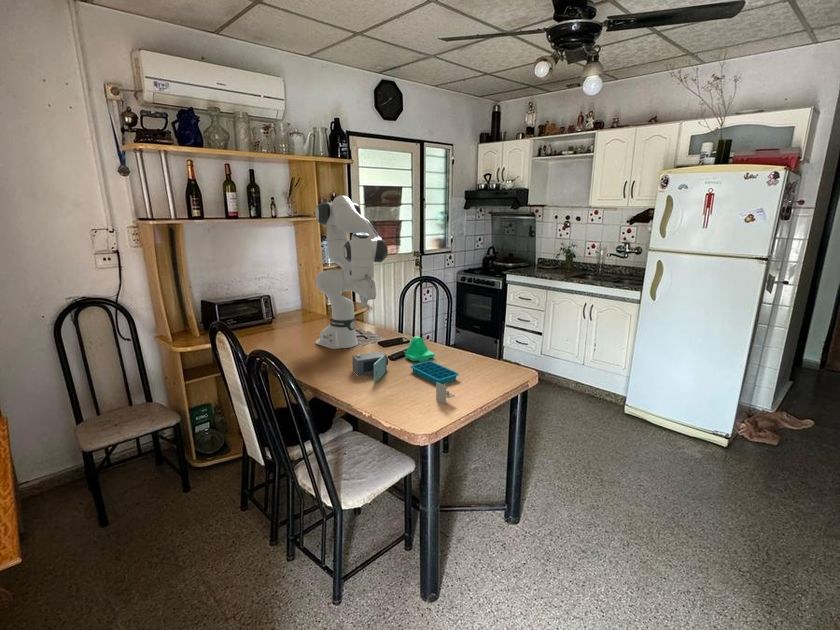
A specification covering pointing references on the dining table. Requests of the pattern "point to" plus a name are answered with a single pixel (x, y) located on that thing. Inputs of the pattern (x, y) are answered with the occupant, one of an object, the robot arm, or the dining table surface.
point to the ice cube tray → (434, 372)
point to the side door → (379, 368)
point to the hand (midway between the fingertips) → (364, 306)
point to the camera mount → (418, 350)
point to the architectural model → (442, 393)
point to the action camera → (366, 363)
